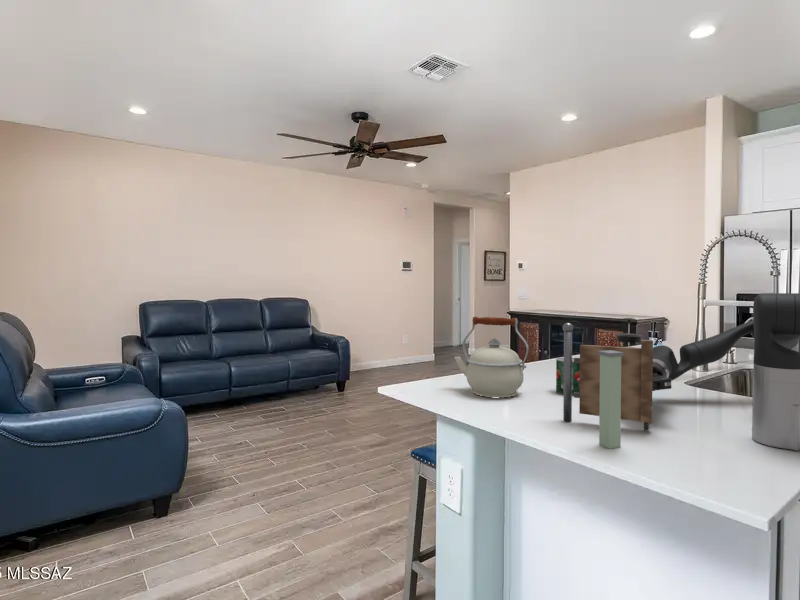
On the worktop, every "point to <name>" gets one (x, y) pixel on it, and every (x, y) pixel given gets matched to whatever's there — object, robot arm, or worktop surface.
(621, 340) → the french press
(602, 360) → the post
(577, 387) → the canned tomato
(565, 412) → the hinge post
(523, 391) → the worktop surface
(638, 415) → the gate
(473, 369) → the kettle
